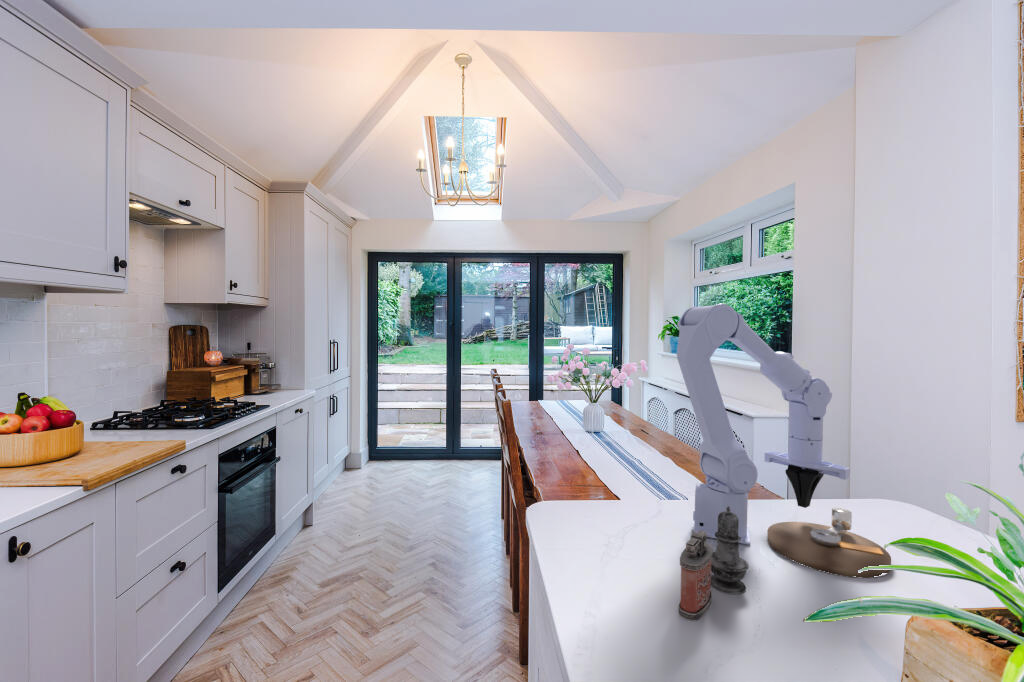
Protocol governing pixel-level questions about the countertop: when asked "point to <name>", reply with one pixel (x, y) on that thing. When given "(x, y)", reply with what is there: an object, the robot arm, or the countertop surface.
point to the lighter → (696, 577)
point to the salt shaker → (728, 556)
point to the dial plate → (827, 550)
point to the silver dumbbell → (834, 528)
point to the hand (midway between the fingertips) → (803, 505)
